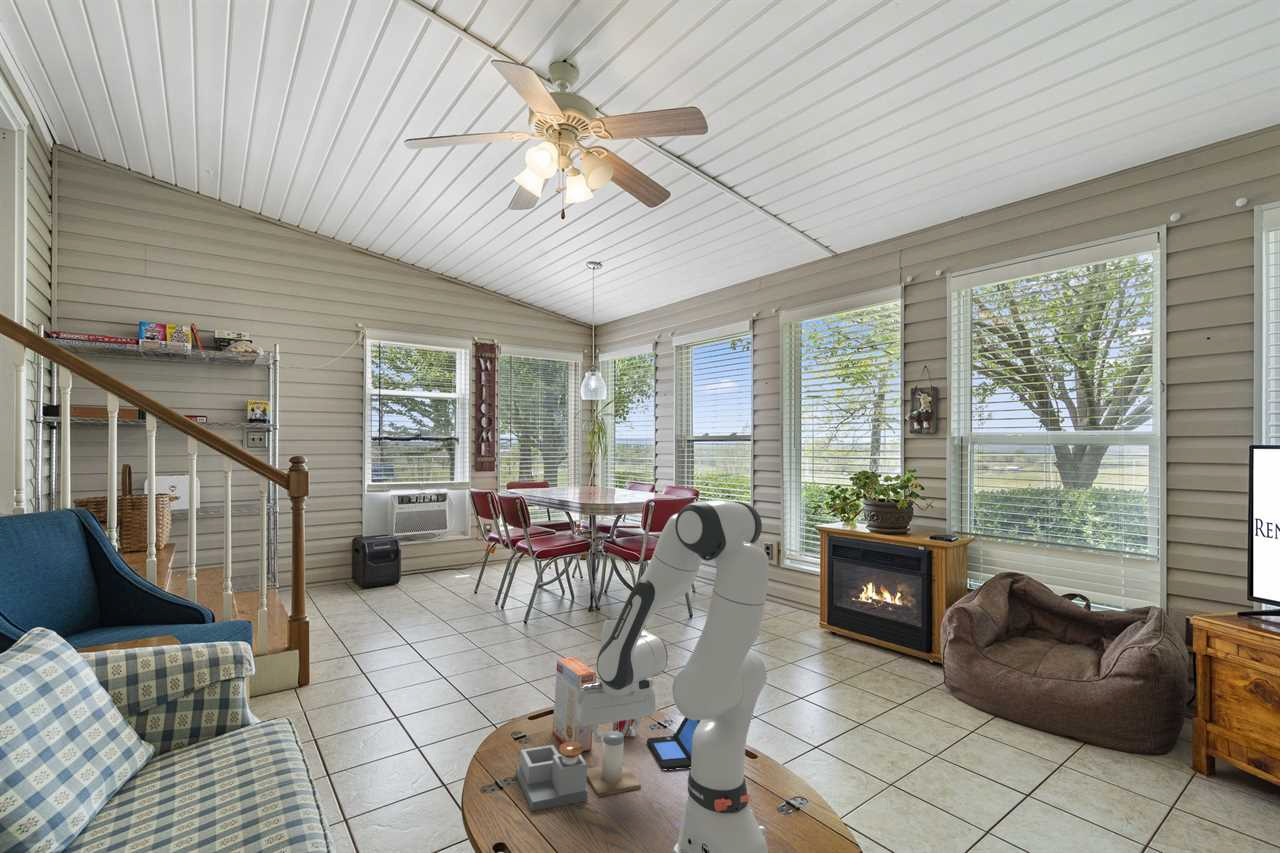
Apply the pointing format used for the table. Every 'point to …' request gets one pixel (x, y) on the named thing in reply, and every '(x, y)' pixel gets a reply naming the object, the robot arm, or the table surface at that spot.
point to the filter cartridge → (612, 756)
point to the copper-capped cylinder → (570, 753)
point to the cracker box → (571, 701)
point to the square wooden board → (611, 787)
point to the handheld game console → (675, 746)
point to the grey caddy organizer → (550, 778)
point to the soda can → (623, 726)
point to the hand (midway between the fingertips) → (615, 738)
